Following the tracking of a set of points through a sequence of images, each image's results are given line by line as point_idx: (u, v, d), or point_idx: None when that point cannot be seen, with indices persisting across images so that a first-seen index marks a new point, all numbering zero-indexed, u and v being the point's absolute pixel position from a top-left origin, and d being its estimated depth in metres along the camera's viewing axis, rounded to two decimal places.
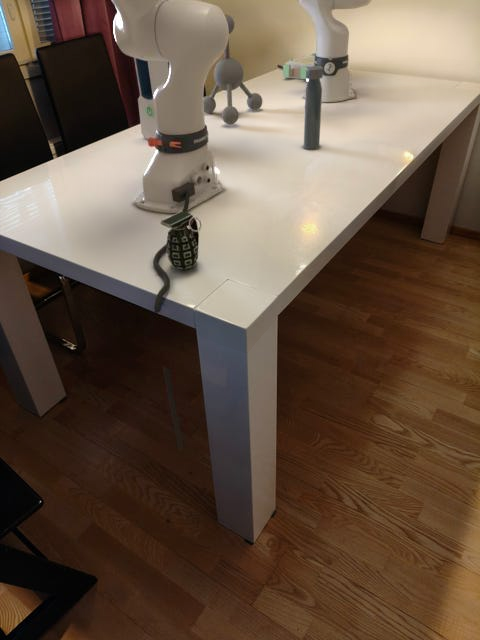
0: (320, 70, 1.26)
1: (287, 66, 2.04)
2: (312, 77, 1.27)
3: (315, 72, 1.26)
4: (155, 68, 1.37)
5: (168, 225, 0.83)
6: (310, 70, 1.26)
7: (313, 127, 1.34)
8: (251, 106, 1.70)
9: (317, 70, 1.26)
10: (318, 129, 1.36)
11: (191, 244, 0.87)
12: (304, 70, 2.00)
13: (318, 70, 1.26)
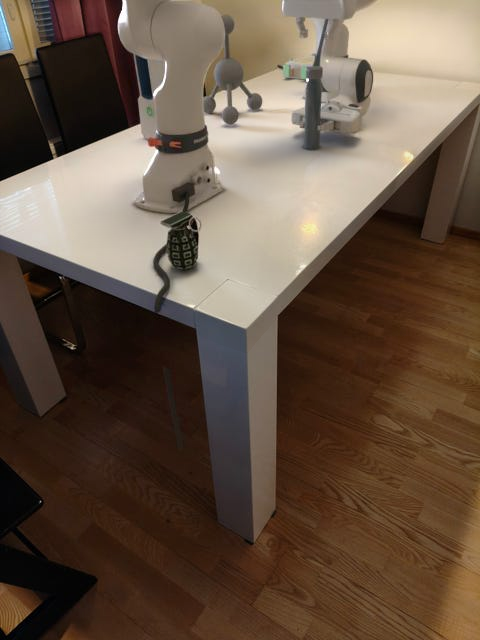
0: (320, 70, 1.26)
1: (287, 66, 2.04)
2: (312, 77, 1.27)
3: (315, 72, 1.26)
4: (155, 68, 1.37)
5: (168, 225, 0.83)
6: (310, 70, 1.26)
7: (313, 126, 1.34)
8: (251, 106, 1.70)
9: (317, 70, 1.26)
10: None
11: (191, 244, 0.87)
12: (304, 70, 2.00)
13: (318, 70, 1.26)
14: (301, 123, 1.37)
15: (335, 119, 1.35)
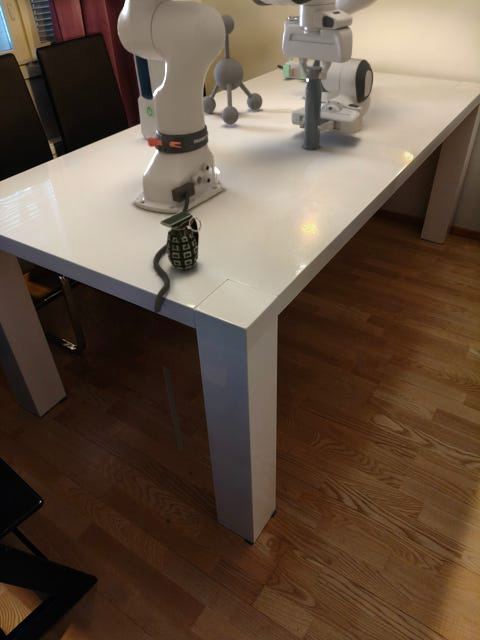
0: (320, 70, 1.26)
1: (287, 66, 2.04)
2: (312, 77, 1.27)
3: (315, 72, 1.26)
4: (155, 68, 1.37)
5: (168, 225, 0.83)
6: (310, 70, 1.26)
7: (313, 126, 1.34)
8: (251, 106, 1.70)
9: (317, 70, 1.26)
10: None
11: (191, 244, 0.87)
12: None
13: (318, 70, 1.26)
14: (301, 123, 1.37)
15: (335, 119, 1.35)
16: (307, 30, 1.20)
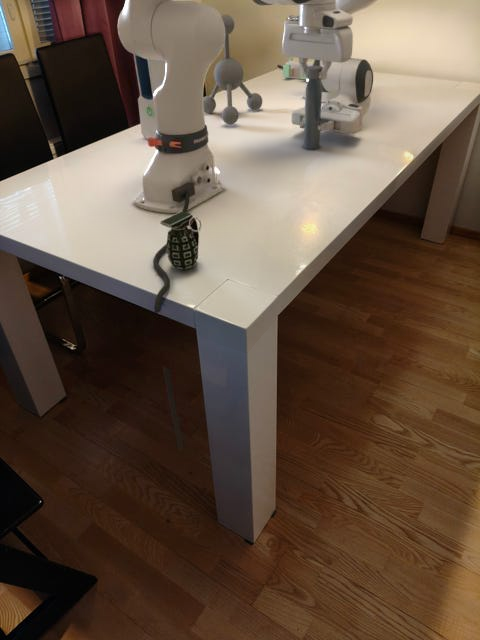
0: None
1: (287, 66, 2.04)
2: None
3: None
4: (155, 68, 1.37)
5: (168, 225, 0.83)
6: (321, 69, 1.26)
7: (313, 126, 1.34)
8: (251, 106, 1.70)
9: None
10: None
11: (191, 244, 0.87)
12: None
13: None
14: (301, 123, 1.37)
15: (335, 119, 1.35)
16: (307, 30, 1.20)
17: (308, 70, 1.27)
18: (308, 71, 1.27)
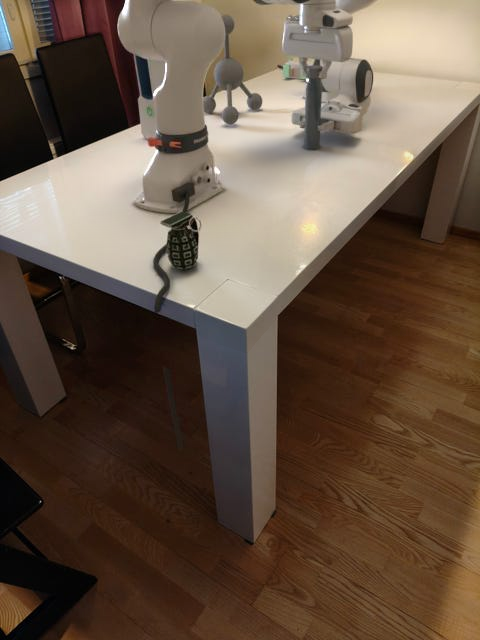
0: None
1: (287, 66, 2.04)
2: None
3: None
4: (155, 68, 1.37)
5: (168, 225, 0.83)
6: None
7: (313, 126, 1.34)
8: (251, 106, 1.70)
9: None
10: None
11: (191, 244, 0.87)
12: None
13: None
14: (301, 123, 1.37)
15: (335, 119, 1.35)
16: (307, 29, 1.20)
17: (320, 69, 1.26)
18: (320, 70, 1.26)
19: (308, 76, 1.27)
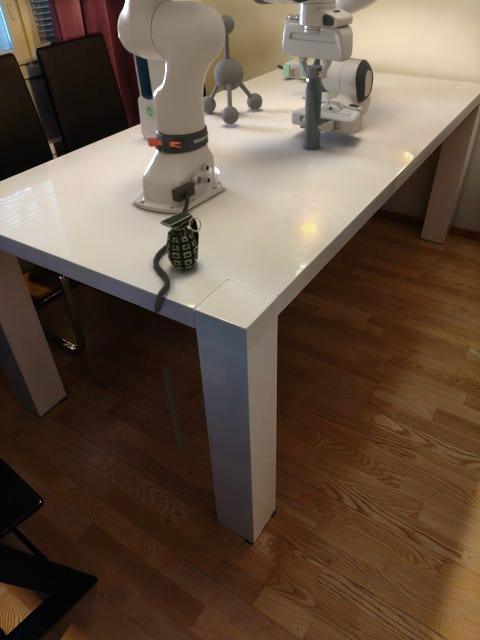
0: (310, 69, 1.26)
1: (287, 66, 2.04)
2: (306, 74, 1.29)
3: (307, 69, 1.27)
4: (155, 68, 1.37)
5: (168, 225, 0.83)
6: None
7: (313, 126, 1.34)
8: (251, 106, 1.70)
9: (307, 68, 1.27)
10: None
11: (191, 244, 0.87)
12: None
13: (308, 68, 1.27)
14: (301, 123, 1.37)
15: (335, 119, 1.35)
16: (307, 29, 1.20)
17: None
18: None
19: None
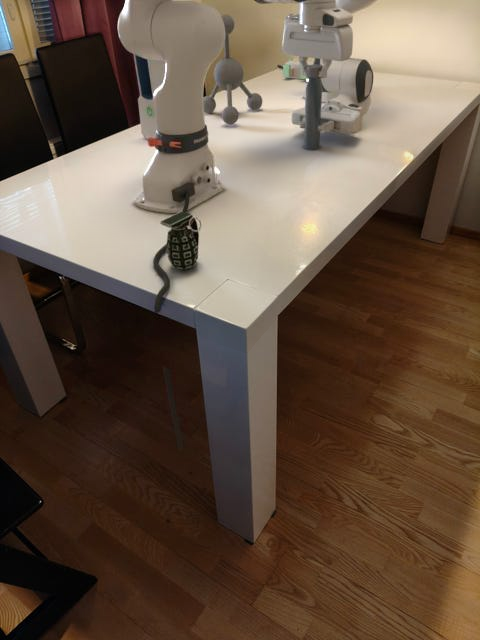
0: (321, 68, 1.26)
1: (287, 66, 2.04)
2: (314, 75, 1.27)
3: (317, 70, 1.26)
4: (155, 68, 1.37)
5: (168, 225, 0.83)
6: (312, 68, 1.26)
7: (313, 126, 1.34)
8: (251, 106, 1.70)
9: (319, 68, 1.26)
10: None
11: (191, 244, 0.87)
12: None
13: (320, 68, 1.26)
14: (301, 123, 1.37)
15: (335, 119, 1.35)
16: (307, 28, 1.20)
17: None
18: None
19: None
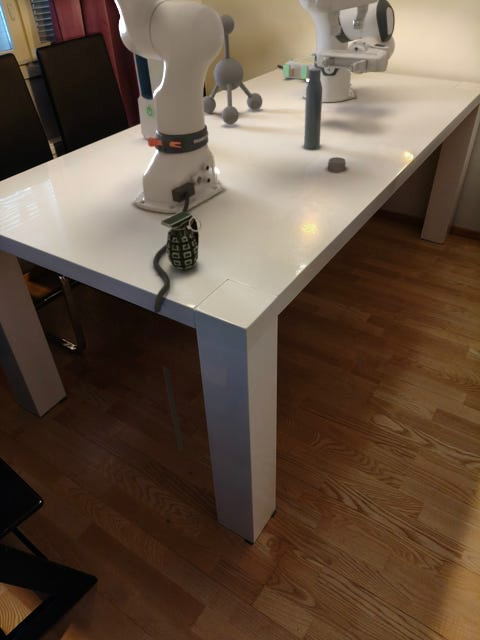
0: None
1: (287, 66, 2.04)
2: None
3: None
4: (155, 68, 1.37)
5: (168, 225, 0.83)
6: None
7: (313, 126, 1.34)
8: (251, 106, 1.70)
9: None
10: (318, 129, 1.36)
11: (191, 244, 0.87)
12: (304, 70, 2.00)
13: None
14: (322, 62, 1.38)
15: (362, 57, 1.35)
16: None
17: (344, 163, 1.24)
18: (343, 164, 1.24)
19: (332, 170, 1.24)
